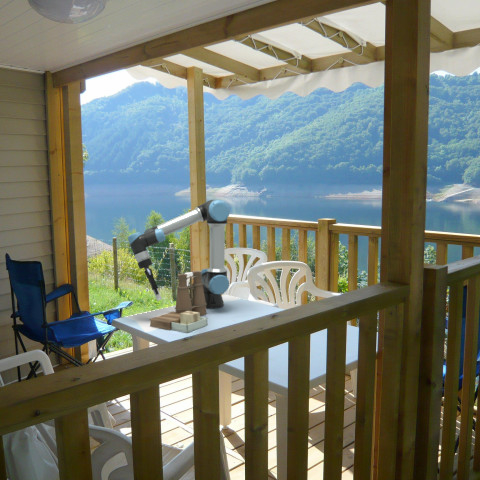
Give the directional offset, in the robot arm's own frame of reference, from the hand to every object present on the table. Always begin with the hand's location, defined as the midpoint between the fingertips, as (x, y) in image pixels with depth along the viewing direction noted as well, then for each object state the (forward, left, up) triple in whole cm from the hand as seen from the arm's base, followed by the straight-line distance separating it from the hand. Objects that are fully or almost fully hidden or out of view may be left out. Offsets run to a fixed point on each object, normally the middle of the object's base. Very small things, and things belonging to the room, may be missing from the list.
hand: (159, 299), depth 276 cm
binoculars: (-16, +9, -12) cm, 22 cm away
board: (+2, +11, -11) cm, 16 cm away
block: (+2, +20, -7) cm, 21 cm away
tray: (+2, +23, -11) cm, 26 cm away
